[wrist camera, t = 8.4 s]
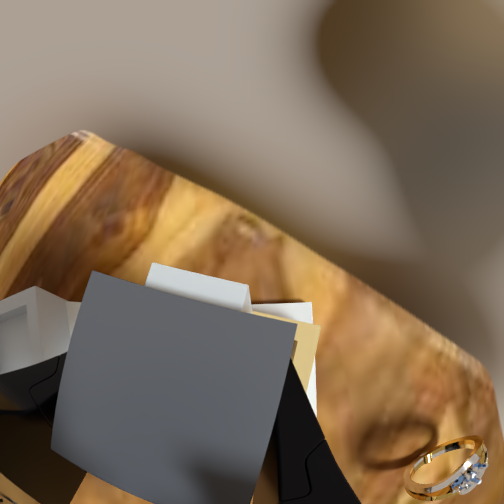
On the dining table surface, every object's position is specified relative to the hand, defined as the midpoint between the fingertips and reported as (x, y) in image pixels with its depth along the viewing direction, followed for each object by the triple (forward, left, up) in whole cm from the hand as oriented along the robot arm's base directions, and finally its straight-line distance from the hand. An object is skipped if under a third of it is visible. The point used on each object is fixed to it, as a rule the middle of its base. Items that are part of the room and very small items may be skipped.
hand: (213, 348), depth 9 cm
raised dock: (+11, +16, -13) cm, 23 cm away
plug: (-1, +1, -4) cm, 5 cm away
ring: (-18, -5, -14) cm, 23 cm away
